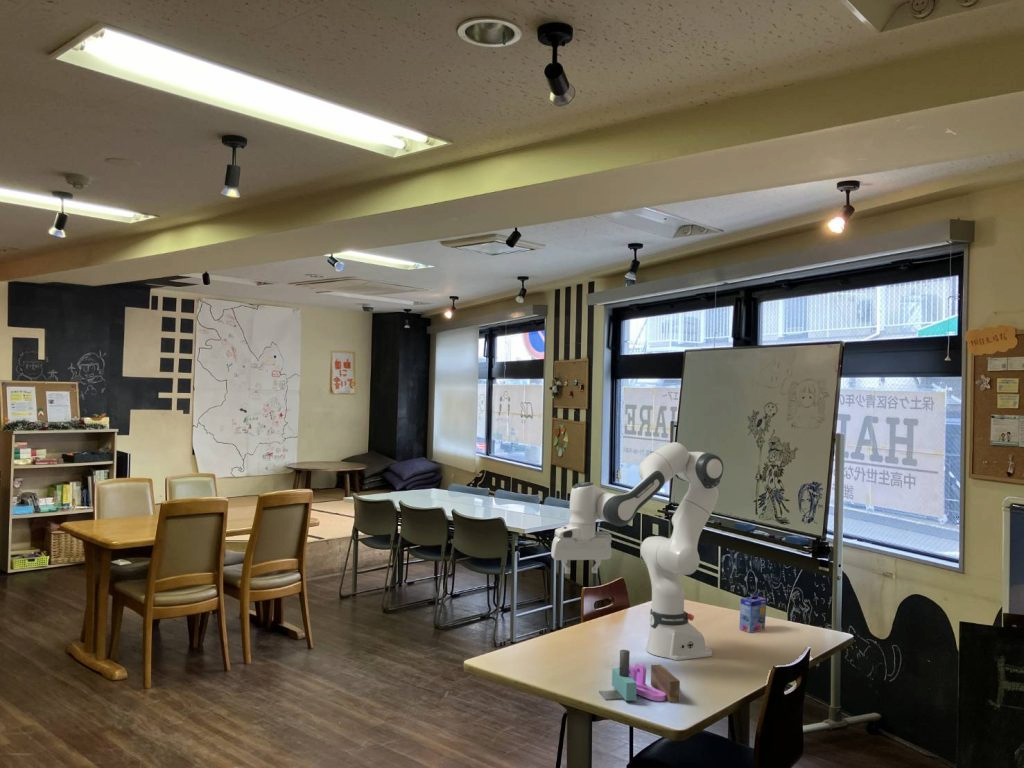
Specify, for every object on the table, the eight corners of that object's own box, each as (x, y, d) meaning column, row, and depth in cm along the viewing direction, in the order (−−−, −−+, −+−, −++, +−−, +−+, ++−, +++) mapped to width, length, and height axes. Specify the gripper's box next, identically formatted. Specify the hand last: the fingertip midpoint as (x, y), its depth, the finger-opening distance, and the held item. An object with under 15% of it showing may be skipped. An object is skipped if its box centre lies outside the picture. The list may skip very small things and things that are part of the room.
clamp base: (659, 684, 229) (660, 664, 229) (679, 702, 215) (679, 681, 215) (594, 687, 225) (595, 667, 225) (610, 705, 211) (610, 684, 211)
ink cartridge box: (750, 633, 285) (751, 595, 286) (738, 629, 290) (739, 592, 290) (766, 629, 291) (767, 592, 291) (754, 626, 295) (755, 589, 296)
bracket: (623, 688, 224) (624, 664, 224) (635, 685, 227) (637, 662, 228) (656, 702, 214) (658, 677, 214) (669, 699, 217) (670, 674, 218)
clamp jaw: (621, 684, 225) (622, 644, 226) (636, 700, 214) (637, 657, 214) (611, 685, 225) (612, 644, 225) (626, 700, 213) (627, 658, 213)
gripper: (608, 529, 254) (607, 570, 254) (550, 529, 250) (549, 571, 249) (614, 532, 248) (613, 574, 247) (555, 533, 244) (554, 575, 243)
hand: (580, 573), depth 248 cm, fingers open, 8 cm apart
